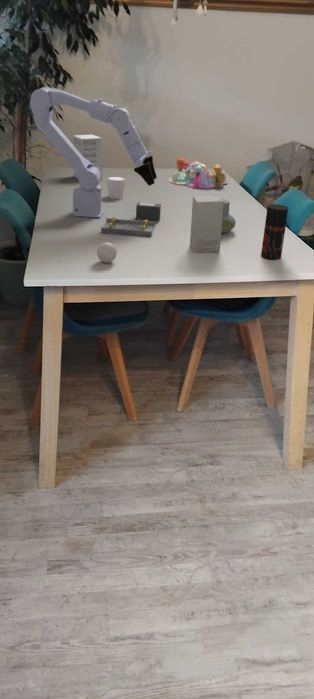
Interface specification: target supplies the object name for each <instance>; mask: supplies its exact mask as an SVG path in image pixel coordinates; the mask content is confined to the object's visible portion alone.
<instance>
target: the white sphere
mask: <svg viewBox="0 0 314 699" xmlns="http://www.w3.org/2000/svg"><path fill="white" fill-rule="evenodd" d="M117 252H118V251H117V248H116V246H115V245H114V244H113V243H111V242H107V241H106V242H102V243H100V244H99V245H98V247H97V249H96V252H95V251H94V252H92V254H94V253H96V256H97V257H98V259H99V261H101V262H103V263H105V264H108V263H112V262H113V261H114V260H116V257H117V254H118V253H117Z"/></svg>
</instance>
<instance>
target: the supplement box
mask: <svg viewBox="0 0 314 699" xmlns="http://www.w3.org/2000/svg"><path fill="white" fill-rule="evenodd" d="M72 144H73V146H74V147H75V148H76V149H77V150H78V151H79V153H80V154H81V155H82V156H83V157H84V158H85V159H87V160H88V161H90V163H91V164H92V165H94V166H96V167H98V168H99V169H100V170H101V172H102V173H103V138H102V137H100V136H98V135H95V134H76V135H72ZM72 172H73V173H72V174H73V177H74V178H76V179H77V180H78V178H77V177H76V175H75V173H74V170H73V169H72ZM102 179H103V178H102ZM102 179H101V180H102ZM102 181H103V180H102Z"/></svg>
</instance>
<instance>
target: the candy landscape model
mask: <svg viewBox="0 0 314 699" xmlns="http://www.w3.org/2000/svg"><path fill="white" fill-rule="evenodd" d="M175 164H176V166H177V167H176V169H177V171H174V172H172V175H171V177H169V178H168V181H169V182H170V183H171V184H173V185H176V186H186V187H188V188H193V189H198V190H199V189H202V190H203V189H205V190H206V189H209V190H211V189H217V188H218V189H219V188H223V187H224V185H225V184H228V181H227V180H226V179H227V176H226V174H225V173H224V171H223V168H222V166H221V165H220V164H218V163H215V164H214V166H213V168H212V169H213V170H212V171H209V170H208V167H207V165H205V164H204V163H202V162H201V161H196V160H194V161H193V162H191V164H190V163H189V162H188V161H186V159H185V158H183V157H179V158H178V159H177V160H176V163H175ZM183 169H184V170H185V172H184V173H183Z"/></svg>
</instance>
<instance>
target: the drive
mask: <svg viewBox="0 0 314 699" xmlns="http://www.w3.org/2000/svg"><path fill="white" fill-rule="evenodd" d="M135 208H136V209H135V220H136V219H141V220H140V221H144V220H153V221H152V222H160V220H161V209H162V203H150V202H137V204H136V205H135Z"/></svg>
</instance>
